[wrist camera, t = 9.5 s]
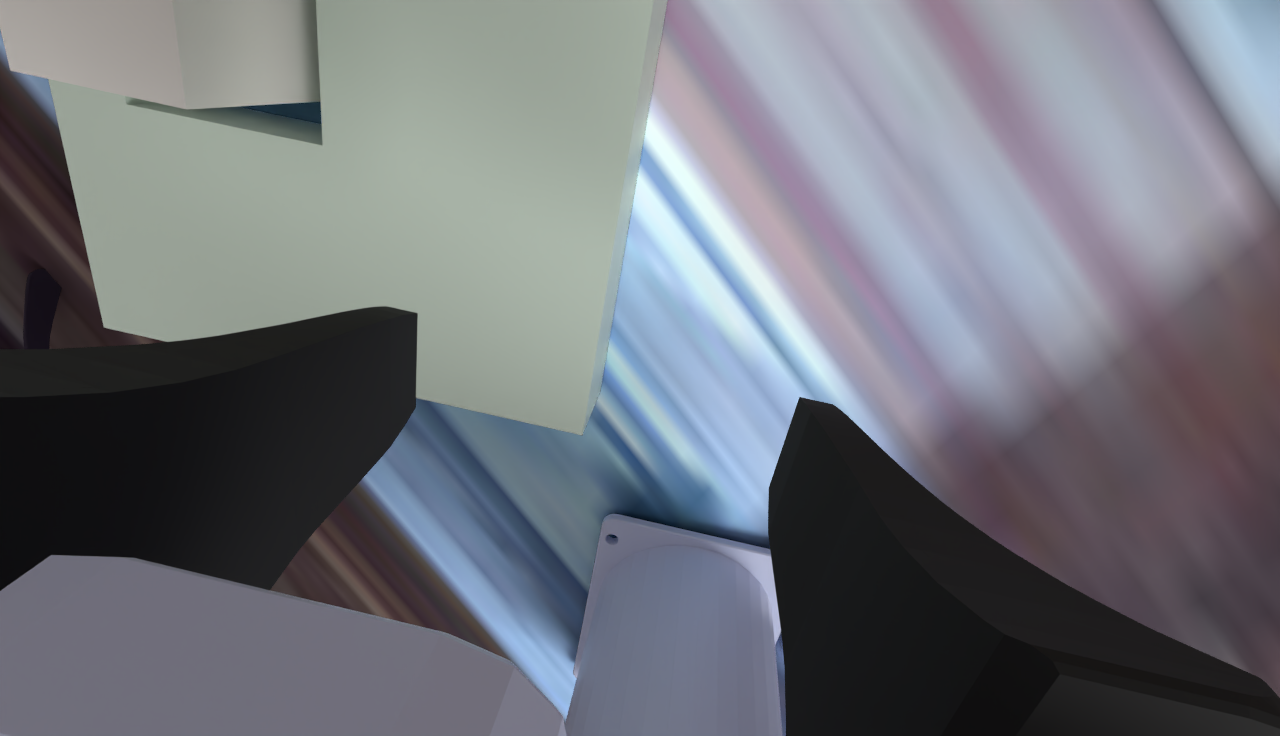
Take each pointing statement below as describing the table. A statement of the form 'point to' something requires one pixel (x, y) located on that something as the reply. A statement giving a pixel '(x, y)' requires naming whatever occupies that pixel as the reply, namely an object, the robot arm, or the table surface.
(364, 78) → the pale green square slab
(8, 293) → the table surface
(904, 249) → the table surface
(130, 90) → the block
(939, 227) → the table surface
